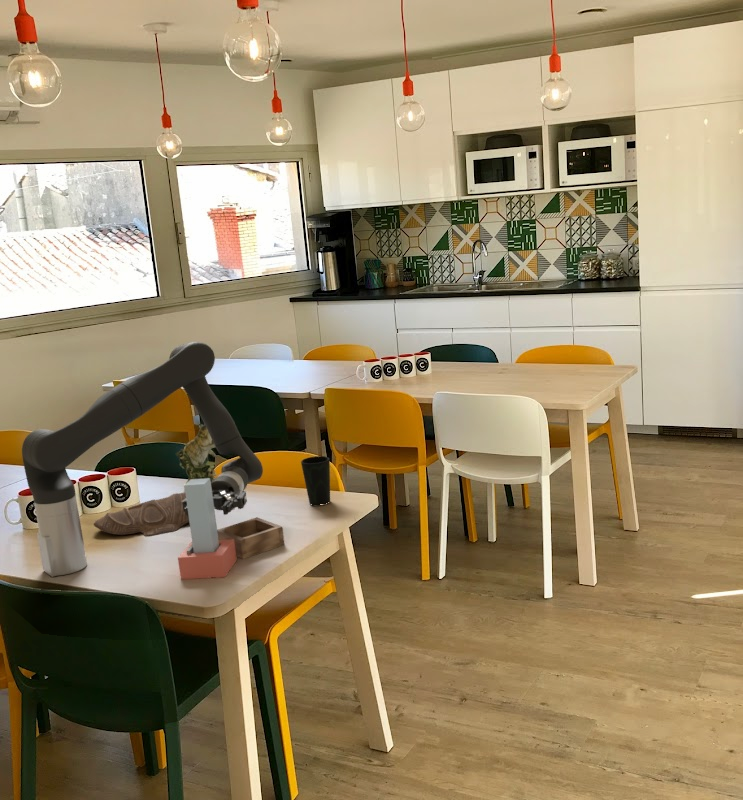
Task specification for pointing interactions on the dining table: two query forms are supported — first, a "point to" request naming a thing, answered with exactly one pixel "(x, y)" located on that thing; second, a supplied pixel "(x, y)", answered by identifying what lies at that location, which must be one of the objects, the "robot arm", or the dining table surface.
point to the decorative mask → (147, 517)
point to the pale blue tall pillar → (201, 515)
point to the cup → (317, 479)
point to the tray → (253, 536)
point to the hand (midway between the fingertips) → (206, 511)
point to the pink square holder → (207, 561)
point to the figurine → (198, 456)
